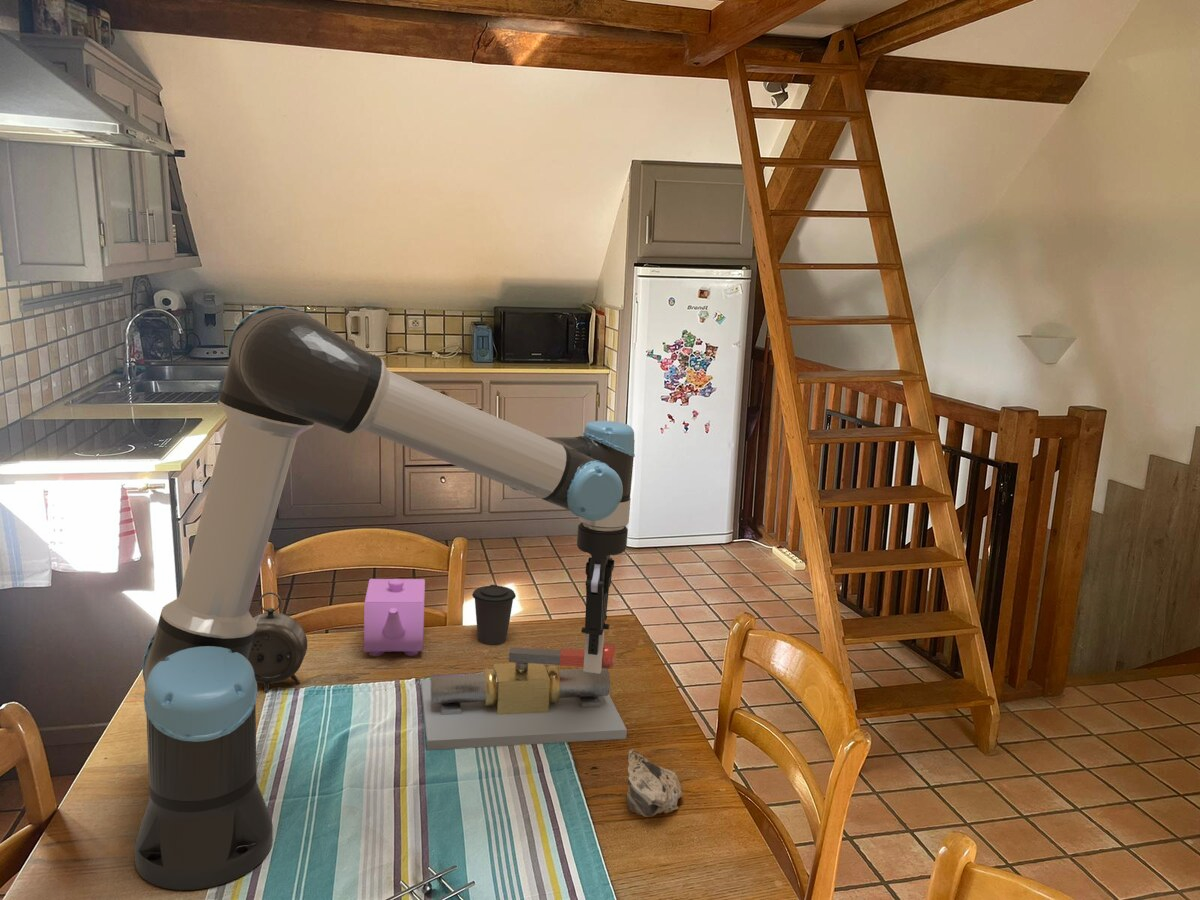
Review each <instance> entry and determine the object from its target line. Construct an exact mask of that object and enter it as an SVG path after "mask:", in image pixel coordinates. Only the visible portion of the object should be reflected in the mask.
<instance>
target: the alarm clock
mask: <svg viewBox="0 0 1200 900" xmlns="http://www.w3.org/2000/svg"><path fill="white" fill-rule="evenodd" d="M267 595H273V596H275V597H277V599H278V600H279V601H278V602H279V603H278V605H277V607H275V608H273V607H269V608H267V609H266V608H264V606H263V604H262V599H263V598H264V597H265V596H267ZM258 604H259V607H260V608H261V610H263V611H265V612H262V613H259V614H257V615H254V616H252V617H253V619H254V620H255V622H256V624H257V628H256V632H255V635H254V639H253V642H252V646H251V650H250V653H249V657H248V661H249V662H250V663H251V665H252V667H253V670H254V674H255V679H256V683H260V684H264V688H263V689H264V690H263V691H264V693H267V692H269V690H270V689H269V688H270V684H272V685H273V684H277V683H281V682H284V681H286V680H288V679H290V678H291V679H292V680H293V681H294V683H295V684H296V685H299V684H300V679H298V677H297V675H296V673H297V672H298V671H299V669H300V668H301V666H302V663H303V661H304V658H305V656H306V654H307V651H308V639H307V635H306V632H305V630H304V629H303V627H302V626H301V625H300V623H299V622H298V621H296V620H295V619H294V618H293V617H291V616H289V615H286V614H284V613H279V612H276V611H277V610H278V609H279V608H281V605H282V599H281V597H280V595H279V594H277V593H276V592H273V591H268V592H265V593H263V594H261V596H260V597H259V601H258Z"/></svg>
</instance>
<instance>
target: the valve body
mask: <svg viewBox="0 0 1200 900" xmlns="http://www.w3.org/2000/svg"><path fill="white" fill-rule="evenodd" d="M515 665H516V662H508V663H505V662H504V663H493V667H485V668H483V670H482V672H476V673H475V672H473V673H472V672H471V673H450V674H449V673H448V674H446V673H445V674H444V673H443V674H431V675H430V679H431V680H430V699H431V704H440V709H441V715H456V714H461V704H460V703H469V702H483V704H484V706H495V708H496V712H497V715H500V714H520V713H540V712H548V707H549V703H558V702H559V699H560V698H575V697H577V699H578V701H579V703H580V706H581V708H597V707H600V700H599V698H598V696H608V695H610V691H611V690H610V689H611V679H610V677H611V676H610V672H609V669H603V668H602V670H601V673H591V672H583V668H576V669H559V665H546V664H535V663H528V672H526V673H518V672H516V671H515ZM545 665H546V666H545Z"/></svg>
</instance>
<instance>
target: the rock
mask: <svg viewBox="0 0 1200 900" xmlns="http://www.w3.org/2000/svg"><path fill="white" fill-rule="evenodd" d="M627 760H628V766H627V773H628V775H629V776H628V778H627V785H628V790H627V793H626V800H627V804H628V808H629V810H630V811H631V812H633V813H635V814H636V815H638V816H639V815H641V816H643V817H646V818H652V817H654V816H655V815H657V814H661V813H664V814H667V813H668V814H669V813H673V811H676V810H677V809H679V807H678V803H679V799H680V798H682V797H684V795H683V786H682V784H681V782H680V780H679V777H678V775H677V774H676V773H675V772H674V771H673V770H670V769H668V768H664V767H663V766H658V765H657V764H654V763H652V762H651V761H650V760H649V759H648V758H646V757H644V755H642V754H641V753H639V751H635V748H630V749H629V751H628V755H627Z"/></svg>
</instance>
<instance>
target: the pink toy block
mask: <svg viewBox="0 0 1200 900" xmlns="http://www.w3.org/2000/svg"><path fill="white" fill-rule="evenodd" d="M367 585H368V586H367V588H366V589H367V590H366V594H365V598H364V606H363V607H364V610H363V611H364V612H363V613H364V614H363V615H364V616H363V617H364V619H363V621H364V622H363V624H364V625H363V652H364V653H367V652H369V655H370V656H373V657H379V656H382V655H384V654H385V652H388V653H389V652H404V653H403V654H404V655H406V656H409V657H413V656H417V655H419V652H423V651H424V649H423V647H424V633H425V632H424V630H425V629H424V628H425V599H426V598H425V595H426V588H425V587H426V580H425V578H370V579H369V580H368V584H367Z"/></svg>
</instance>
